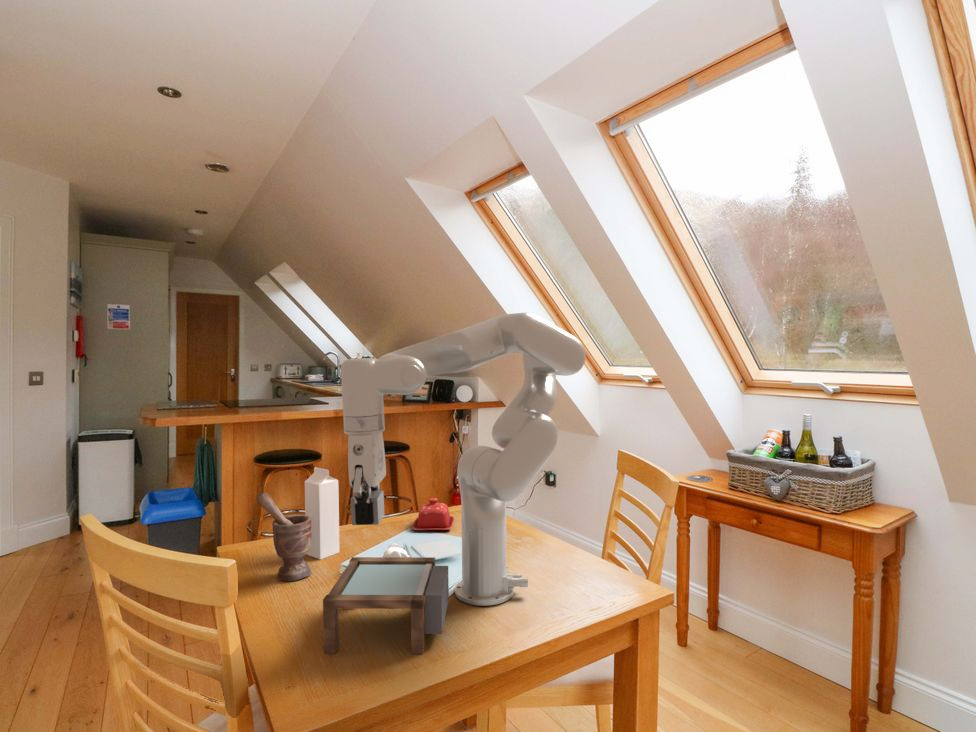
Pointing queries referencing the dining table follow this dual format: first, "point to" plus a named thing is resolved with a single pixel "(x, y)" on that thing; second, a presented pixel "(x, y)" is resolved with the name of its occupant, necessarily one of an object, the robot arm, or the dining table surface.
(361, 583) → the trapdoor
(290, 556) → the mortar and pestle
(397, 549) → the elephant figurine
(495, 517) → the robot arm
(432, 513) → the butter dish
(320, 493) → the milk
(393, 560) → the frame
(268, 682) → the dining table surface
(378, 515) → the gray cube
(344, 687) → the dining table surface
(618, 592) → the dining table surface
